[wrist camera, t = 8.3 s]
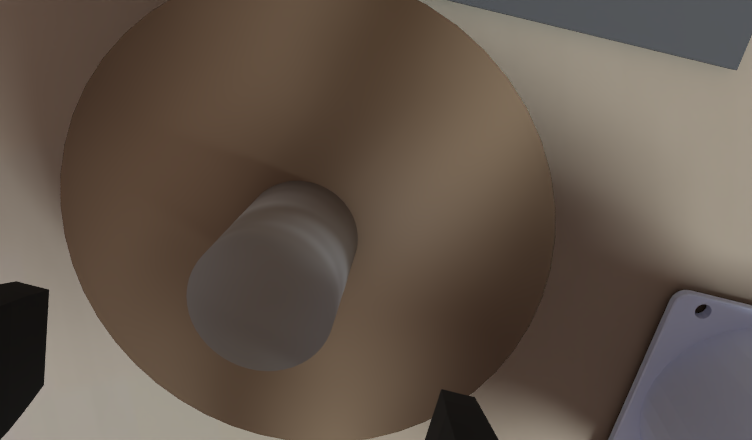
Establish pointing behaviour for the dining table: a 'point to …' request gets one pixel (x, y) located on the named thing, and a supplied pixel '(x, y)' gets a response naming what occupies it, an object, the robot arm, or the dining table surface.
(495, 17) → the dining table surface
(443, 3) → the dining table surface
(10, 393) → the robot arm
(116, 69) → the lid
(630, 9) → the mat
